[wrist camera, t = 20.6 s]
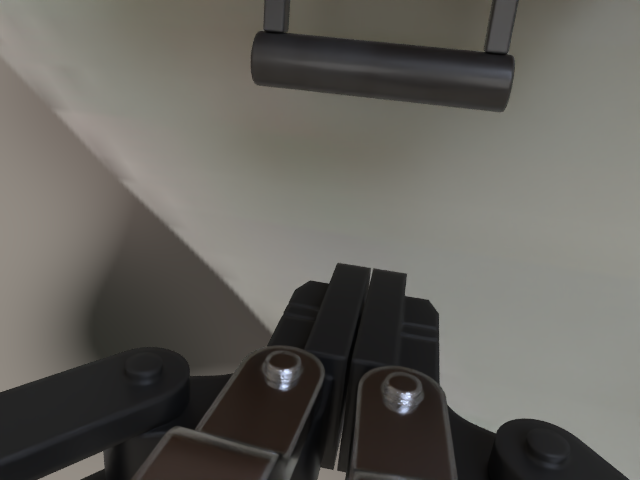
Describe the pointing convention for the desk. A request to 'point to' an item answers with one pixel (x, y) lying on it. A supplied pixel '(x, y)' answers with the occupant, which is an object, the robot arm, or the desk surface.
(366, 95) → the drawer
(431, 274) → the desk surface
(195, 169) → the desk surface
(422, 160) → the desk surface
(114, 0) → the desk surface
